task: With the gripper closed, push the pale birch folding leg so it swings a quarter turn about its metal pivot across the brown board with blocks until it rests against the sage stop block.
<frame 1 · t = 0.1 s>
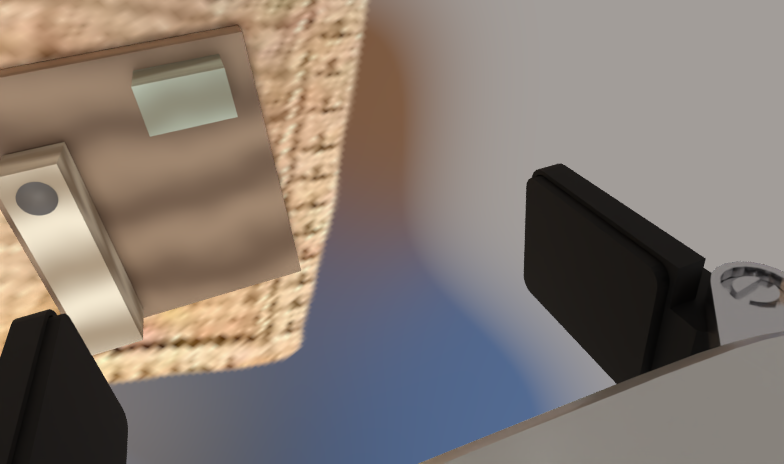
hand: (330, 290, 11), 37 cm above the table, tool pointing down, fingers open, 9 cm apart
brown board with blocks: (151, 184, 46), on the table
folding leg: (78, 255, 42), point 5 cm above the table, hinge at 0.0°
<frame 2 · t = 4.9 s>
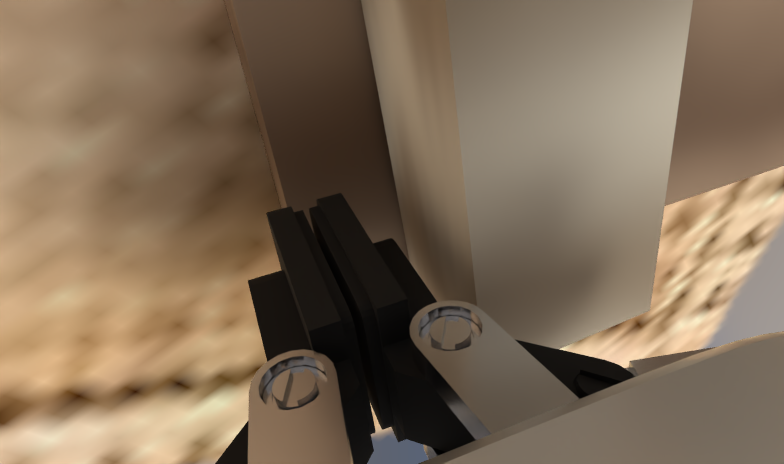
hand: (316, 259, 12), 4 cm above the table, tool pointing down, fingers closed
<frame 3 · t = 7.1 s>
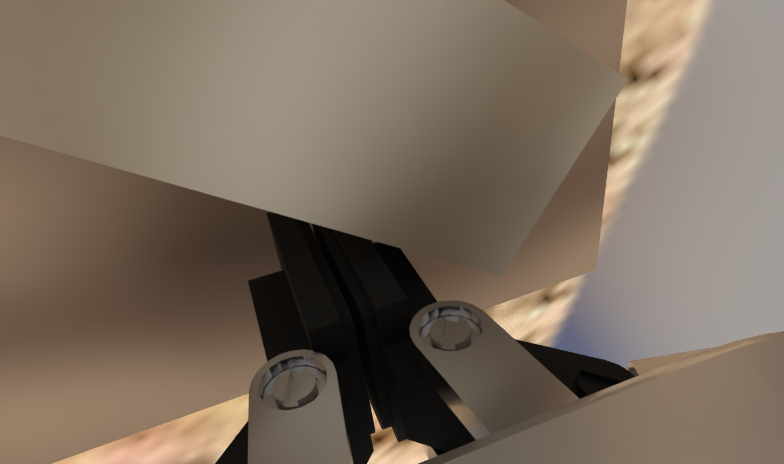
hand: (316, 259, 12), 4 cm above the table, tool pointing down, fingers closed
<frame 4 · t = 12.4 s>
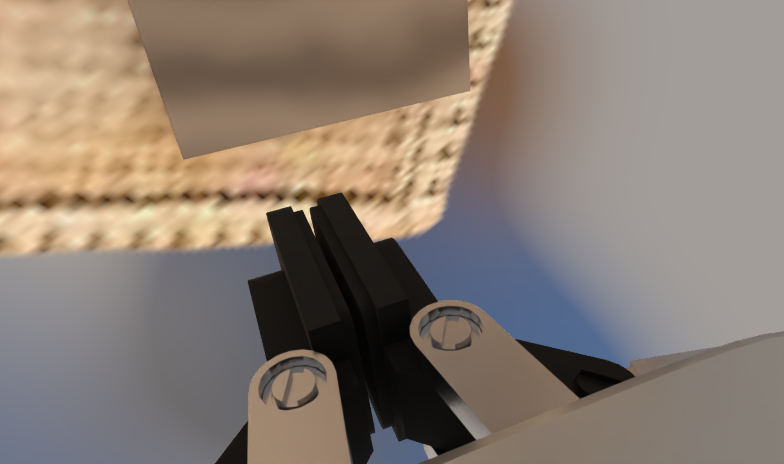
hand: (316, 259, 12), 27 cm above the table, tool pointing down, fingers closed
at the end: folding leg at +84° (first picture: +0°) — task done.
